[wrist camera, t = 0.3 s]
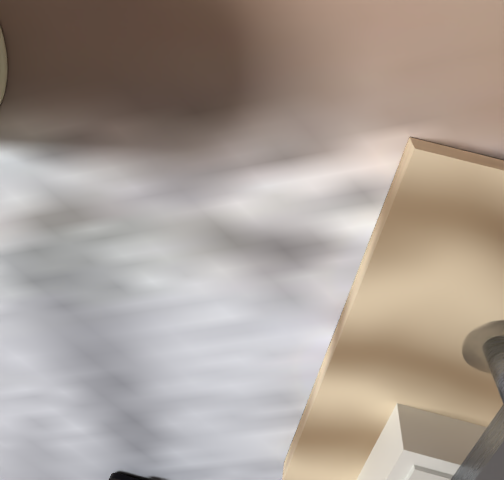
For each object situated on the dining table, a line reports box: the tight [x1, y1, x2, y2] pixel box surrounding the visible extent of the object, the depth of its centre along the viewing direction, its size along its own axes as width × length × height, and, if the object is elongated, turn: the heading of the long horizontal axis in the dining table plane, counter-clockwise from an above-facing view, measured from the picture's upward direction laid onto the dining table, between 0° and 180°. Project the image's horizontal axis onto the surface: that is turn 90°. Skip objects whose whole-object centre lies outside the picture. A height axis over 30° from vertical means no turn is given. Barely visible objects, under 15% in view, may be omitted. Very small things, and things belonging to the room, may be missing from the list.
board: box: [282, 137, 504, 480], centre depth 24 cm, size 22×14×2 cm, turn 169°
